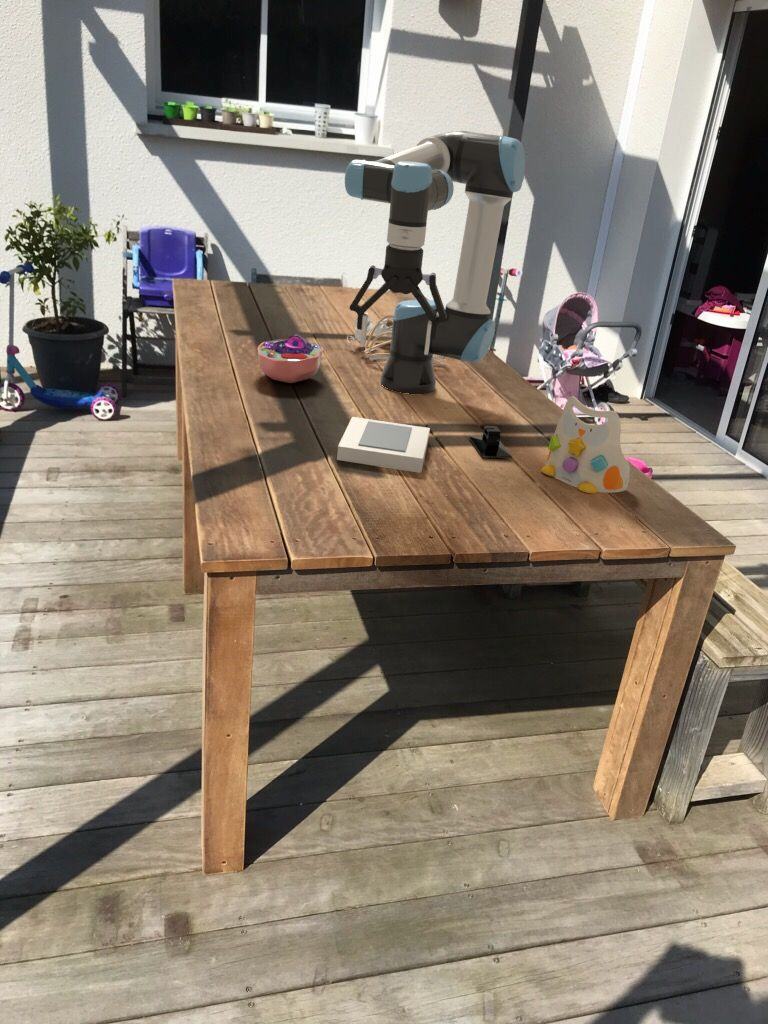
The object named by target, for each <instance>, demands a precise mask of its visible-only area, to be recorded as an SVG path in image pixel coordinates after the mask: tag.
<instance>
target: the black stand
mask: <svg viewBox="0 0 768 1024" xmlns="http://www.w3.org/2000/svg"><path fill="white" fill-rule="evenodd" d="M501 433H502V432H501V430H500V428H499V427H498V426H496V425H484V428H483V431H482V435H481V436H480V435H479V436H478V435H477V436H476V435H474V436H473V435H469V436H468V439H469V440H470V441H471V442H472V443H471V444H472V445H473V446H474V447H475V449H476V450H477V452H478V453H479V455H480V456H481V457H482V458H501V459H502V458H506V459H507V458H508V459H510V458H513V455H512V454H511V452H510V451H509V450H508V449H507V447H505V445H504V444H503V442H502V441H501Z"/></svg>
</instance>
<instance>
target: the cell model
mask: <svg viewBox="0 0 768 1024" xmlns="http://www.w3.org/2000/svg"><path fill="white" fill-rule="evenodd" d="M323 352H324V348H323V346H321V345H319V344H317V343H314V342H308V341H306V340H305V338H304V337H303V336H302V335H299V334H292V335H290V336H288V337H287V339H285V338H283V339H282V338H279V339H274V340H267V341H263V342H261V343H260V344H259V345H258V347H257V357H258V366H259V369H260V370H261V372H263V373H264V374H265V376H267V377H269V378H270V379H271V380H273V381H276V382H282V383H285V384H286V383H287V384H295V383H297V382H298V383H299V382H302V381H305V380H309V379H311V378H312V377H314V375H315V374H316V373H318V371H319V369H320V365H321V361H322V357H323Z"/></svg>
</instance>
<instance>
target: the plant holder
mask: <svg viewBox="0 0 768 1024" xmlns="http://www.w3.org/2000/svg"><path fill="white" fill-rule="evenodd" d="M364 313H368V312H367V311H365V312H364ZM354 314H355V315H354V316H355V317H354V318H355V319H354V321H353V327H355V328H353V331H354V336H351V335H346V341H347V343H349V344H351V342H350V341H349V340H351V341H352V340H354V341H355V340H357V341H358V342H359V343H361V332H362V330H360V329H357V327H356V326H357V318H358V314H357V313H356V312H355V313H354ZM393 318H394V313H393V314H390V315H386V316H383V317H381V318H379V319H377V321H376V323H375V324H374V323H373V321H371V317H370V315H369V314H368V321H367V333H366V339H367V340H366V343H365V345H364V347H365V348H364V349H363V350H362V351H361V353H364V354H368V355H365V357H364V359H368V358H369V360H370V361H375V360H383V361H387V360H388V358H389V355H390V351H389V352H387V353H386V352H385V353H384V352H382V353H379V352H378V353H373V354H372V352H374V351H375V350H377V349H378V348H381V347H383V346H386V345H388V344H391V339H389V340H387V341H384V342H380V343H377V344H375V342H376V341H377V340H378V339H379V338H380V337H382V336H383V337H384V336H385V335H386V336H387V337H388V338H391V337H392V326H393ZM367 334H368V335H367ZM373 335H374V338H373V340H372V337H373ZM371 340H372V341H371ZM370 341H371V343H370ZM374 344H375V345H374ZM444 359H446V357H444V356H439V355H435V354H433V358H432V363H433V368H434V367H435V366H440V367H445V366H446V360H445V361H444V362H443V364H442V362H440V361H441V360H444ZM386 363H387V362H385V363H383V365H384V366H385V365H386ZM374 364H376V365H382V363H381V362H373V365H374Z"/></svg>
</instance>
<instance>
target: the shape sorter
mask: <svg viewBox="0 0 768 1024" xmlns="http://www.w3.org/2000/svg"><path fill="white" fill-rule="evenodd" d="M574 407H575V409H577V410H578V411H579V412H581V413H582V414H585V415H586V416H589V417H593V418H607V422H605V423H602V424H589V423H586V422H584V421H583V420H581V419H580V418H579V417H578V416H577V415H576V413H575V412H574ZM547 450H549V451H548V455H547V457H546V461H545V465H544V466H543V467H542V469H541V472H542V473H543V474H544V475H547V476H549V477H553V478H555V479H557V480H559V481H561V482H563V483H565V484H568V485H569V486H572V487H574V488H577V490H579V491H580V492H583V493H587V494H596V493H605V494H606V493H619V492H620V493H621V492H625V491H626V490H627V488H628V485H629V482H630V481H629V480H630V472H631V471H630V470H631V466H630V463H629V461H628V459H627V458H626V457H625V455H624V453H623V450H622V447H621V419H620V416H619V414H618V413H617V412H616V411H614V410H598V409H593V408H590V407H588V406H586V405H584V404H583V403H582V402H581V401H579V399H578V398H577V397H576V396H573V395H571V396H569V397H568V399H567V400H566V402H565V405H564V407H563V410H562V412H561V415H560V417H559V420H558V423H557V426H556V427H555V431H554V434H553V435H551V437H550V440H549V444H548V447H547Z"/></svg>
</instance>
